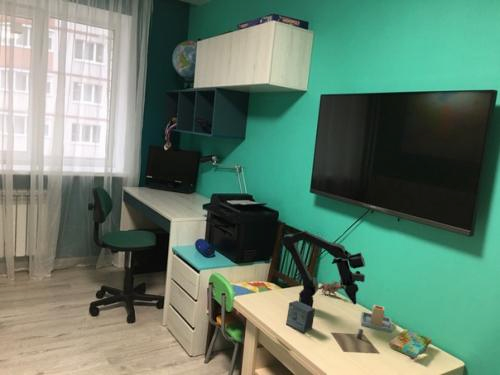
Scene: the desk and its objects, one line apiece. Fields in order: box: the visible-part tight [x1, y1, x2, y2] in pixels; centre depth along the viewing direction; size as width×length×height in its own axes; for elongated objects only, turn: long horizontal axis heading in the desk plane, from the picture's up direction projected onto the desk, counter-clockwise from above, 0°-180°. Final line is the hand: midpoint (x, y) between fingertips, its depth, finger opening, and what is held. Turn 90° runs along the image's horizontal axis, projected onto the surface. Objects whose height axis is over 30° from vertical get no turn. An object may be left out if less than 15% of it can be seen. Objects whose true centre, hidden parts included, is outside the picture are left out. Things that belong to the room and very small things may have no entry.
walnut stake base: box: [330, 328, 381, 355], centre depth 175 cm, size 16×16×5 cm
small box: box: [285, 300, 316, 335], centre depth 184 cm, size 11×6×10 cm, turn 47°
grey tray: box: [360, 311, 393, 334], centre depth 198 cm, size 14×14×2 cm
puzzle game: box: [388, 328, 432, 360], centre depth 179 cm, size 12×5×20 cm
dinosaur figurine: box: [318, 280, 343, 298], centre depth 230 cm, size 14×6×9 cm, turn 75°
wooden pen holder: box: [371, 304, 385, 327], centre depth 197 cm, size 7×5×8 cm
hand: (353, 301), depth 198 cm, fingers open, 9 cm apart
